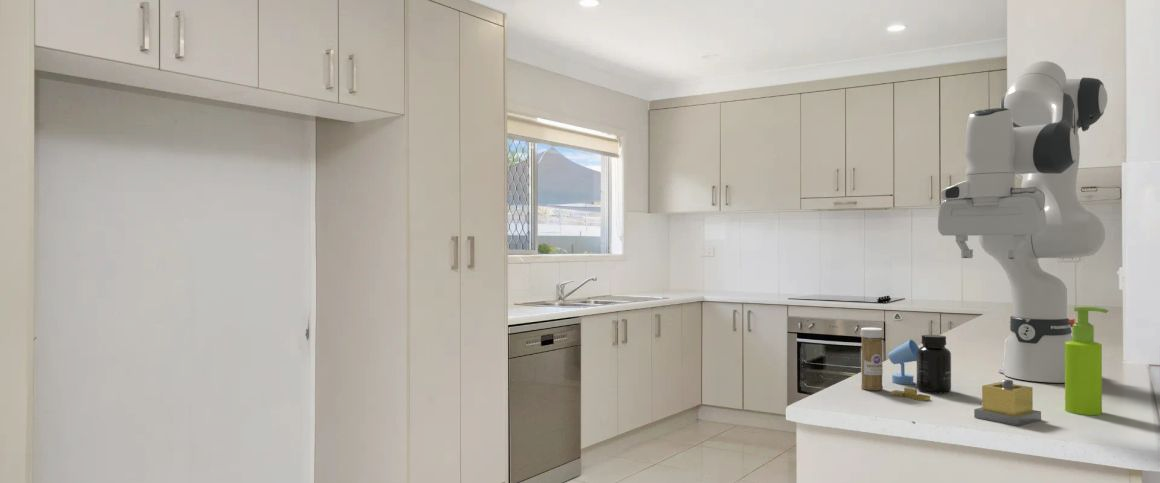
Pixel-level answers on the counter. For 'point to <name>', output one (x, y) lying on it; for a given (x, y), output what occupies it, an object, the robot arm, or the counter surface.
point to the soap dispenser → (1083, 367)
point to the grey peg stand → (1008, 418)
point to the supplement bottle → (934, 365)
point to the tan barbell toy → (910, 394)
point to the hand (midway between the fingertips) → (990, 258)
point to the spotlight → (903, 361)
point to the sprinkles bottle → (871, 358)
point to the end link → (1007, 399)
